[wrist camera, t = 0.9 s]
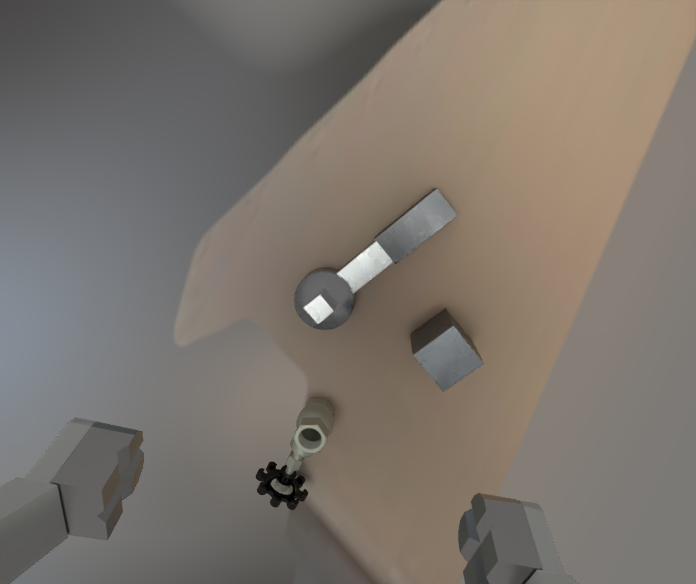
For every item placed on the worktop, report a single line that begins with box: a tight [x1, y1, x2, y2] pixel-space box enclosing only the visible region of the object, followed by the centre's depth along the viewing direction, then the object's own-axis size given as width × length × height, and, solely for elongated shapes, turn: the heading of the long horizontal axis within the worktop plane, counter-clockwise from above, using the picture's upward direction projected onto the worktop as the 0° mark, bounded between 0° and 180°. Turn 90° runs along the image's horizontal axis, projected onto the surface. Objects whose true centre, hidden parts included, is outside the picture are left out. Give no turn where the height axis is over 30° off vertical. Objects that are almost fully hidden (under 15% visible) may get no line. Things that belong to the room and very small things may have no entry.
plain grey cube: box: [410, 308, 484, 391], centre depth 48 cm, size 5×5×6 cm
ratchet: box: [294, 188, 457, 330], centre depth 46 cm, size 6×20×6 cm, turn 130°
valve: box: [256, 397, 335, 510], centre depth 52 cm, size 7×7×12 cm
